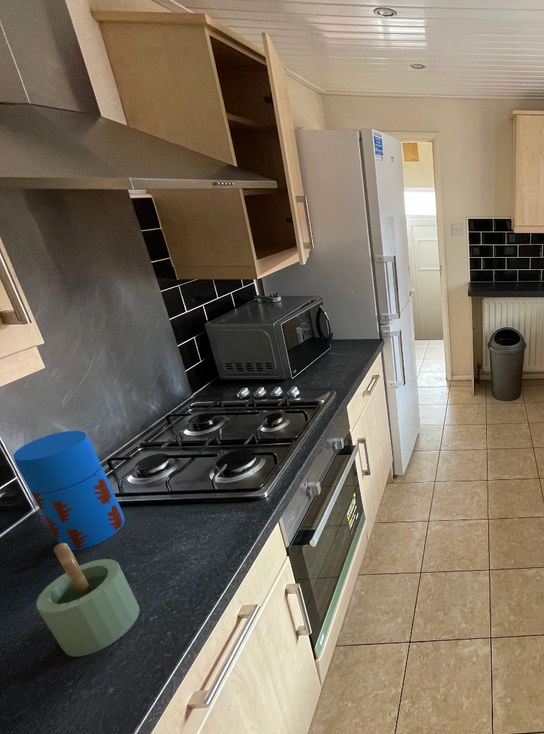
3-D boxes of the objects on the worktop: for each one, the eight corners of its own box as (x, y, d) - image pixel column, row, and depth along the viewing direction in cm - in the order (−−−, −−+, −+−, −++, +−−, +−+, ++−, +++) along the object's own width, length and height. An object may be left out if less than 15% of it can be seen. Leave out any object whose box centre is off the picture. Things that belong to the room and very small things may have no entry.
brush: (87, 640, 72) (41, 560, 65) (83, 624, 75) (38, 545, 68) (120, 621, 75) (79, 543, 68) (115, 606, 78) (75, 529, 71)
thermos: (114, 513, 101) (73, 425, 92) (137, 528, 97) (97, 437, 87) (53, 545, 92) (2, 451, 83) (76, 563, 88) (24, 466, 78)
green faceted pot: (67, 670, 69) (39, 625, 65) (59, 630, 75) (33, 587, 71) (145, 623, 76) (124, 580, 72) (132, 591, 82) (112, 549, 78)
